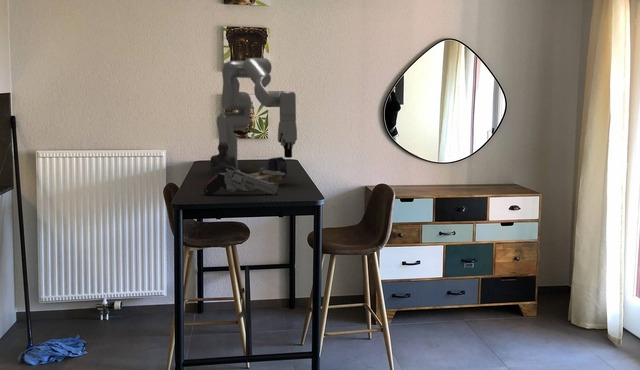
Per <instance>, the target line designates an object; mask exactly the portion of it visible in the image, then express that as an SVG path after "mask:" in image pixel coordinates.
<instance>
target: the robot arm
mask: <svg viewBox="0 0 640 370" xmlns="http://www.w3.org/2000/svg"><path fill="white" fill-rule="evenodd" d="M271 63H272V62H270V60H269V59H267V58H264V57H249V58H246V59H245V60H229V61H226V62H225V63H224V65H223V66H222V71H221V75H222V82H223V83H222V91H221V107H222V109H224V110H225V111H232V112H222V113H219V114H218V116H217V117H216V127H217V131H218V144H219V143H220V142H226V143H227V145H228V151H227V154H228V155H232V156H234V157H235V161H236V170H238V171H240V172H241V169H238V138H237V135H236V134H235V132H234V131H244V130H246V129H247V128H248V127H249V125H250V118H251V109H252V99H251V96H250V94H249V93H248V92H246V91H240V86H241V85H240V81H239V79H238V78H240V79H250V80H251V81H252V82H253V84H254V86H253V89H254V96H255V98H256V100H257V101H258V102H259V104H261V105H262V106H264V107H266V108H279V122H278V126H277V128H278V129H277V142H278V143H280V146H282V148H283V149H284V154H283V155H284V157H283V158H289V159H291V158H293V146H294V145H295V144H296V141H298V132H297V131H298V130H297V117H296V116H297V111H296V110H297V108H296V105H297V103H296V102H297V101H296V100H297V98H296V97H297V96H296V93H295V91H283V90H268V89H266V87H267V86H268V85H269V84H270V83H271V81H272V76H271V74H270V73H271V72H272V64H271ZM234 111H237V112H234Z"/></svg>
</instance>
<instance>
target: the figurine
mask: <svg viewBox="0 0 640 370" xmlns="http://www.w3.org/2000/svg"><path fill="white" fill-rule="evenodd" d="M217 151H218V154H214V155H212V156H211V157H210V165H209V166H210V167H209V168H210V170H209V174H211V175H213V174H214V177H216V176H217V175H218V174H219V173H228V172H227V170H226V169H228V170H229V171H230V170H231V168H232V167H233V168H235V169H236V161H235V157H234V156H232V155H228V154H227V151H228V145H227V143H226V142H220V143H219V142H218V146H217ZM234 173H235V172H234ZM233 176H234V175H233Z"/></svg>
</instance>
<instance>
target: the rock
mask: <svg viewBox="0 0 640 370" xmlns="http://www.w3.org/2000/svg"><path fill="white" fill-rule="evenodd" d="M282 162H285V163H287V162H286V159H285V157H282V156H278V157H271V158H268V160H267V163H266V164H267V166H266V170H269V171H280V172H281V163H282ZM287 174H288V171H287V172H286V173H285V175H282V178H284V177H286V176H287Z"/></svg>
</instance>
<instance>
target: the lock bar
mask: <svg viewBox="0 0 640 370" xmlns="http://www.w3.org/2000/svg"><path fill="white" fill-rule="evenodd" d="M258 172H259V174H276V175H285V173H286V172H287V173H288V169H287V162H286V163H285V162H282V163H281V172H280V171H269V170H267V167H258Z"/></svg>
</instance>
